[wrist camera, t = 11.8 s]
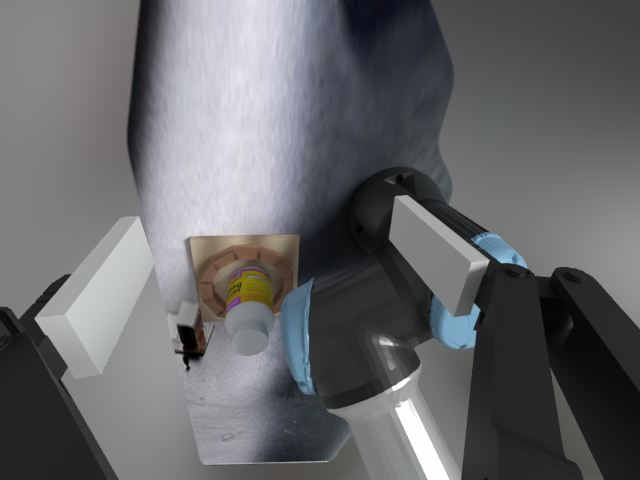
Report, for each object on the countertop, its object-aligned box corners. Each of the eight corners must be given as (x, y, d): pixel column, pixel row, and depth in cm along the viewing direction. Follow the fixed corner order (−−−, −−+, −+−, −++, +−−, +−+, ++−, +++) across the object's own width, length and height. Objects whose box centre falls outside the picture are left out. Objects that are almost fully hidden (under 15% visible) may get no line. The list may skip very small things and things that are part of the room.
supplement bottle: (239, 258, 45) (236, 317, 34) (277, 272, 48) (286, 331, 37) (222, 290, 48) (213, 355, 37) (259, 301, 50) (262, 365, 39)
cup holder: (298, 234, 46) (301, 243, 44) (294, 310, 54) (297, 322, 52) (190, 236, 43) (187, 247, 40) (202, 317, 51) (200, 330, 48)
